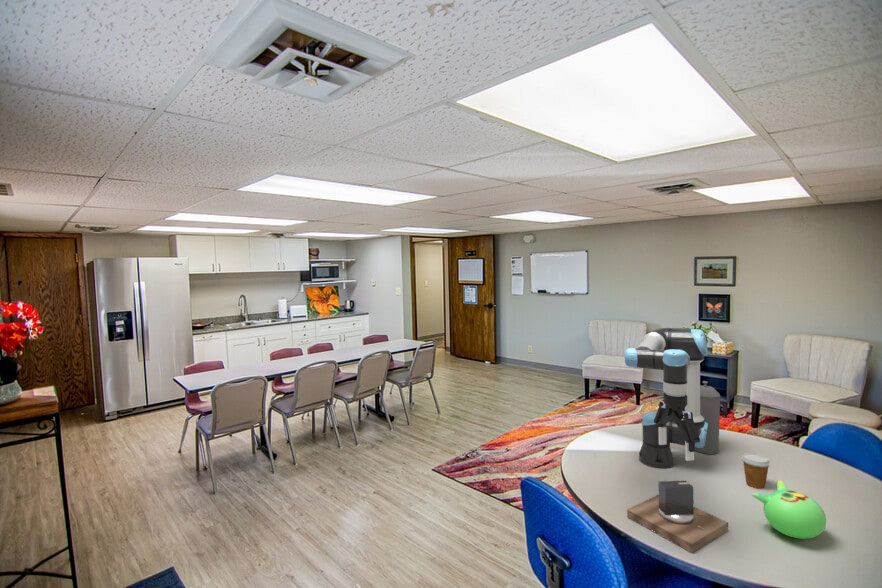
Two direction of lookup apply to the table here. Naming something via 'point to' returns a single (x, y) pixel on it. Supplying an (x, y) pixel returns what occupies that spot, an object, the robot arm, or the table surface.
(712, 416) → the canister
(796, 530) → the toy bird
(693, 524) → the dial panel
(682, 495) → the dial
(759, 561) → the table surface
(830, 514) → the table surface
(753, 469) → the disposable coffee cup
